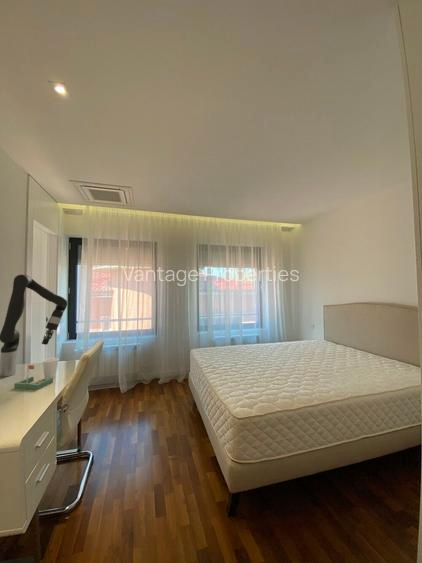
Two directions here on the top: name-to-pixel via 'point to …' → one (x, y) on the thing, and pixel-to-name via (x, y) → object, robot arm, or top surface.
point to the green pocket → (26, 382)
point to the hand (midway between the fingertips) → (44, 344)
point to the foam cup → (50, 367)
